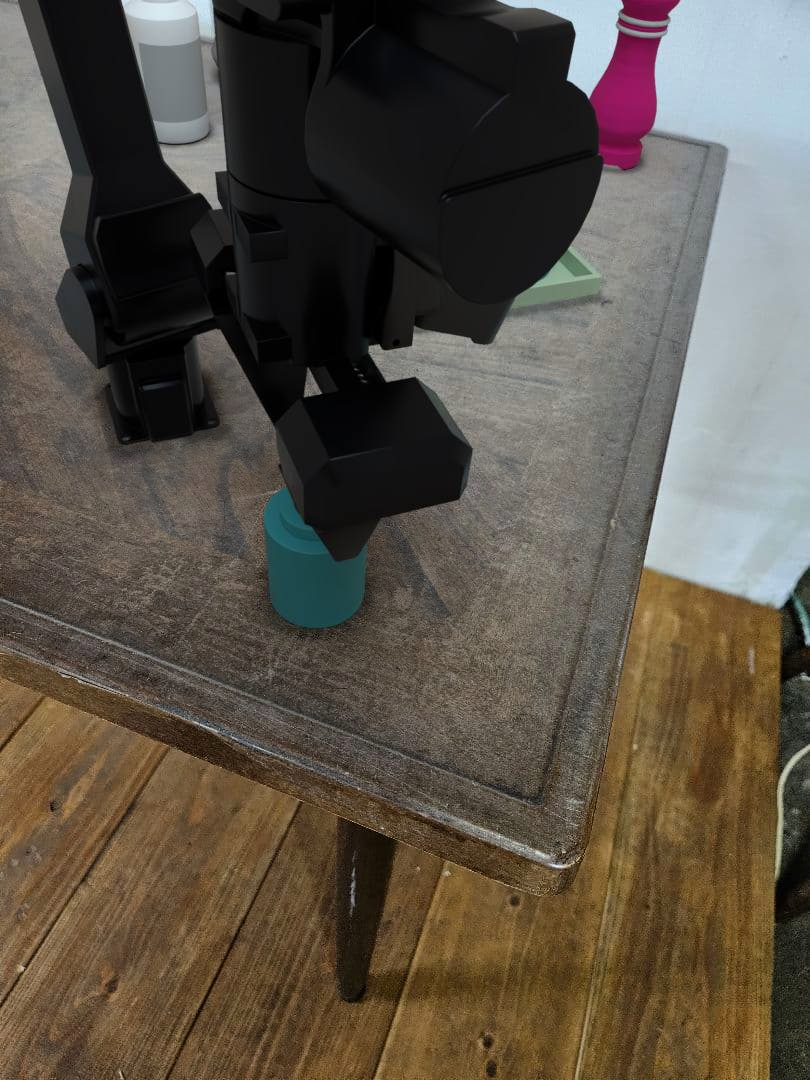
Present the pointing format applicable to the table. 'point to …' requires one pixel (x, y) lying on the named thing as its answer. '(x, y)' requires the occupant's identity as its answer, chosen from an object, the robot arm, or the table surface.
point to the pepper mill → (630, 82)
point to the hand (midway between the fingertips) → (314, 489)
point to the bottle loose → (308, 570)
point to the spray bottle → (170, 66)
